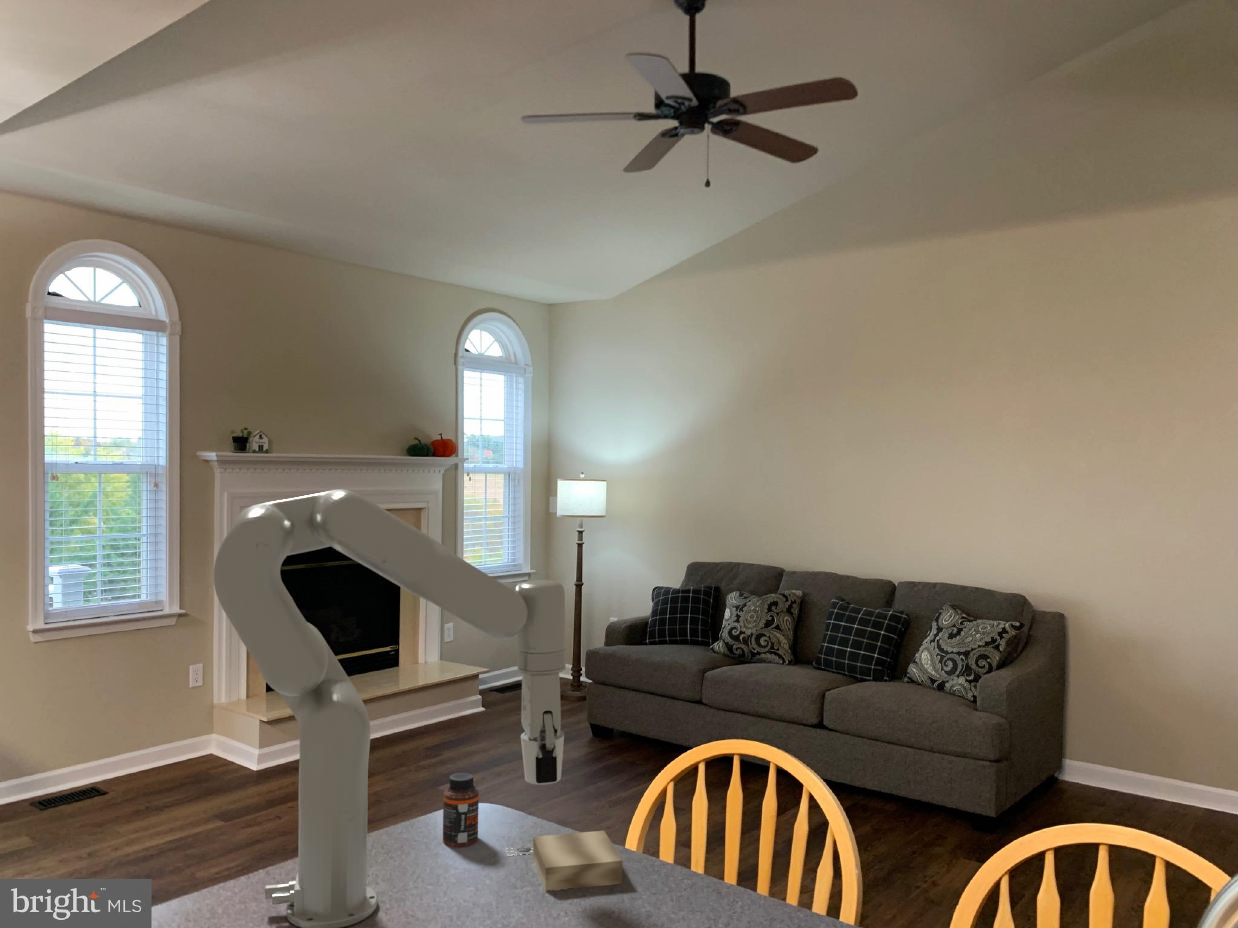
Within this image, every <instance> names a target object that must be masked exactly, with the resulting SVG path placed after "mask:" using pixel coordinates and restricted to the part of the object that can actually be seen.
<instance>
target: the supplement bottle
mask: <svg viewBox="0 0 1238 928" xmlns="http://www.w3.org/2000/svg"><path fill="white" fill-rule="evenodd" d="M448 785H449V786H448V787H447V788H446V789H444V791H443V802H442V803H443V806H442V807H443V808H442V809H443V811H442V812H443V813H442V815H443V816H442V842H443V844H444V845H445V846H448V847H451V848H466V847H470V846H473V845H474V844H476V843H477V842H478V838H479V799H480V798H479V794H480V792H479V790H478V788H477V787H475V785H474V775H473V774H472V773H466V772H458V773H457V772H456V773H453V774H451V775H450V776H449V781H448Z"/></svg>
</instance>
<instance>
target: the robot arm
mask: <svg viewBox="0 0 1238 928" xmlns="http://www.w3.org/2000/svg"><path fill="white" fill-rule="evenodd" d="M329 547H332V548H333V549H335V550H336V551H337V552H340V553H342V554H343V555H345V556H347V557H348V558H350V559H352V560H353V561H355V562H358V563H359V564H361V565H362V566H364V567H366V568H367V569H370V570H371V571H373V572H375V573H376V574H378V575H379V576H381V577H383V578H385V579H386V580H387V581H390V582H391V583H393V584H395V585H397V586H398V587H400V588H402V589H403V590H405V591H407V592H408V593H410V594H412V595H414V596H417V597H419V598H421V599H423V600H426V601H428V602H429V603H432V604H433V605H435V606H437V607H438V608H440V609H442V610H444V611H445V612H447V613H449V614H450V615H452V616H454V617H456V618H458V619H459V620H461V621H463V622H464V623H466V624H468V625H470V626H472V627H473V628H475V629H476V630H478V631H480V632H482V633H483V634H485V635H486V636H488V637H490V638H493V639H497V640H507V639H510V638H512V637H514V636H516V639H517V643H516V645H517V671H518V672H519V673H521V674H522V677H521V678H522V679H521V711H520V712H521V715H520V718H521V719H520V722H521V726H522V729H523V730H524V732H526V734H527V736H528V737H529V738H530V739H534V737H536V739H537V755H538V757H536V782H537V783H548V782H555V783H557V782H556V781H557V755H556V742H555V737H558V736H559V735H560V731H561V723H562V721H561V720H562V718H561V717H562V715H561V710H562V709H561V708H562V707H561V685H560V684H561V683H560V682H561V681H560V673H562V672H564V671H566V668H567V667H566V666H567V665H566V664H567V663H566V661H567V659H566V597H565V596H566V595H565V594H566V593H565V588H564V586H563V584H562V583H561V582H559V581H557V580H552V579H551V580H548V579H535V580H528V581H525V582H510V581H509V582H506V581H499V580H497V579H496V578H493V576H490V575H489V574H487V573H485V572H484V571H482V570H480V569H479V568H477V567H476V566H474V565H472V564H471V563H469V562H468V561H466V560H464V559H463V558H461V557H460V556H458V555H457V554H455V553H454V552H453V551H451V550H450V549H449V548H447V546H445V545H443V544H442V543H441V542H439V541H437V540H436V539H434V538H433V537H431V536H430V535H428V534H426V533H424V532H423V531H422V530H419V529H418V528H416V527H415V526H413V525H411V524H409V523H408V522H406V521H405V520H403V519H401V518H400V517H398V516H396V515H395V514H393V513H392V512H389V511H388V510H386V509H384V507H381V506H379V504H376V503H375V502H373V501H372V500H370V499H369V498H367V497H364V496H363V495H361V494H359V493H357V492H355V491H352V490H350V489H344V488H342V489H341V488H340V489H339V488H338V489H333V490H328V491H327V490H326V491H324V492H323V491H322V492H319V493H314V494H309V495H303V496H298V497H292V498H287V499H282V500H281V499H279V500H276V501H275V500H274V501H269V502H264V503H257V504H253V505H251V506H248V507H247V508H245V509H244V510H242V511H241V512H239V514H237V516H236V517H235V519H234V520H233V522H232V525H231V527H230V529H229V531H228V532H227V534H226V536H225V537H224V539H223V541H222V543H221V544H220V547H219V548H218V551H217V554H216V557H215V561H214V566H213V567H214V568H213V585H214V590H215V594H216V597H217V599H218V601H219V604H220V607H221V608H222V610H223V612H224V613H225V615H226V617H227V618H228V620H229V621H230V623H231V625H232V627H233V628H234V630H235V631H236V633H237V635H238V636H239V638H240V640H241V642H242V643H243V645H244V646H245V649H246V650H247V652H248V653H249V654H250V656H251V658H252V659H253V661H254V663H255V664H256V666H257V668H258V670H259V672H260V674H261V676H262V678H263V679H264V681H265V683H266V684H268V686H269V687H270V688H271V689H272V690H274V691H276V692H277V693H278V694H279V695H280V697H281V698H282V699H283V701H284V702H285V704H286V705H287V707H288V708H289V711H291V713H292V714H293V716H294V717H295V719H296V721H297V726H298V733H299V734H298V735H299V761H298V762H299V763H298V764H299V765H298V767H299V768H298V839H297V840H298V846H297V847H298V851H297V852H298V855H297V861H298V862H297V863H298V864H297V869H298V870H297V873H296V878H295V879H294V880H293V879H292V880H289V881H288V883H280V884H279V883H274V884H273V883H272V884H266V885H265V887H264V888H265V889H264V890H265V891H264V900H271V905H282V904H286V908H285V915H286V918H287V919H286V920H288V922H290V923H291V924H292V925H294V926H296V927H299V928H345V927H349V926H352V925H354V924H356V923H359V922H361V921H363V920H365V919H367V918H368V917H370V915H372V914H373V912H375V910H376V909H377V907H378V895H377V893H376V891H375V890H374V889H373V888H371V887H370V886H367V879H368V877H367V875H368V873H367V871H368V869H367V868H368V866H367V865H368V863H367V862H368V800H369V799H368V780H369V778H368V775H369V772H368V771H369V756H370V747H371V723H370V717H369V713H368V711H367V708H366V706H365V703H364V701H363V699H362V698H361V696H360V694H359V692H358V690H357V688H356V687H355V685H354V684H353V682H352V681H351V679H350V678H349V676H348V674H347V673H346V671H345V670H344V668H343V667H342V665H341V663H340V662H339V660H338V658H337V657H336V655H335V654H334V652H333V650H332V649H331V647H330V646H329V644H328V643H327V641H326V640H325V638H324V637H323V635H322V633H321V632H320V631H319V629H318V628H317V627H315V626H314V625H313V624H311V623H310V622H308V621H307V620H306V619H305V616H304V615H303V614H302V612H301V611H300V609H299V608H298V607H297V605H296V602H295V601H294V599H293V596H291V595H290V593H289V591H288V590H287V588H286V586H285V584H284V582H283V581H282V575H281V568H282V564H283V562H284V560H285V559H286V558H287V556H291V555H297V554H302V553H307V552H312V551H316V550H321V549H324V548H329ZM542 732H544V733H545V736H540V733H542ZM541 740H545V743H543V744H542V746H541Z"/></svg>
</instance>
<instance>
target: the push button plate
mask: <svg viewBox="0 0 1238 928" xmlns="http://www.w3.org/2000/svg"><path fill="white" fill-rule="evenodd" d="M528 846H529V845H523V846H520V847H521V848H517V851H518V852H533V851H530V850H531V849H533V848H530V847H528ZM524 847H527V848H524ZM505 848H506V849H508V848H509V847H505ZM510 848H511V847H510ZM506 849H505V852H508V851H506ZM511 849H513V848H511ZM519 850H520V851H519ZM525 850H526V851H525ZM510 852H514V851H510ZM515 853H517V852H515ZM513 855H514V856H513ZM506 856H507V857H508V856H509V857H517V854H516V855H515V854H511V855H509V854H507V853H506ZM520 856H523V855H522V854H520ZM525 856H529V855H528V854H526V855H525Z"/></svg>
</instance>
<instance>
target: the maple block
mask: <svg viewBox="0 0 1238 928" xmlns="http://www.w3.org/2000/svg"><path fill="white" fill-rule="evenodd" d="M532 845H533V854H532V859H533V858H534V859H533V861H535V862H534V864H535V866H537V867H536V870H537V869H538V870H537V872H539V873H538V875H539V878H540V881H541V880H542V881H541V883H542V885H543V889H544V888H545V889H544V892H549V891H548V890H551V891H550V892H552V890H554V891H561V890H562V889H564V890H568V889H567V888H574V889H579V888H578V887H583V888H591V887H601V886H612V885H620V884H623V860H622V857H621V856H620V855H619V853H618V851H617V849H616V848H615V846H614V845H613V843H612V841H611V839H610V838H609V836H608V834H607V833H606V830H597V831H583V832H582V831H581V832H573V833H571V832H569V833H561V834H548V835H536V836H533V837H532ZM560 889H561V890H560Z"/></svg>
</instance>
